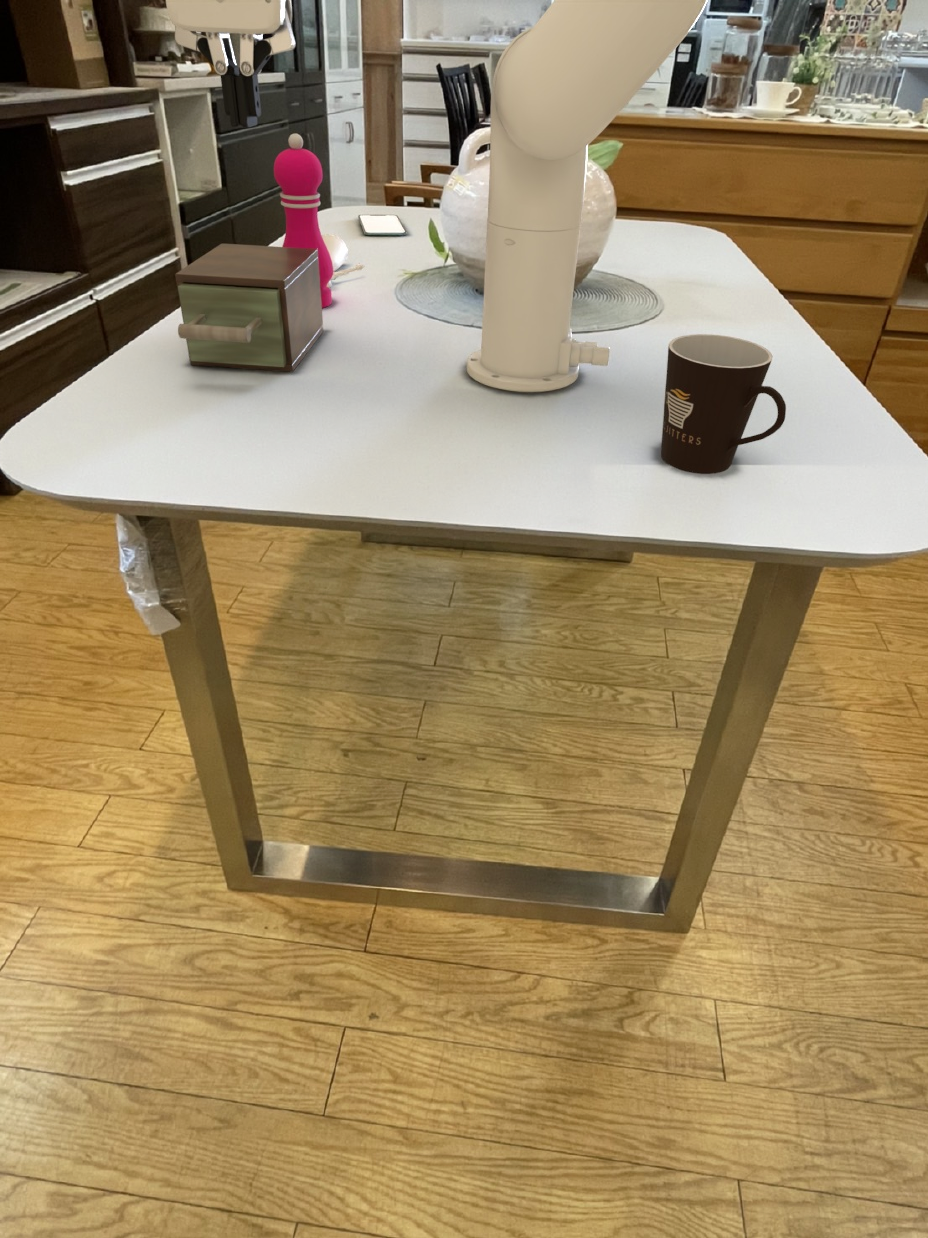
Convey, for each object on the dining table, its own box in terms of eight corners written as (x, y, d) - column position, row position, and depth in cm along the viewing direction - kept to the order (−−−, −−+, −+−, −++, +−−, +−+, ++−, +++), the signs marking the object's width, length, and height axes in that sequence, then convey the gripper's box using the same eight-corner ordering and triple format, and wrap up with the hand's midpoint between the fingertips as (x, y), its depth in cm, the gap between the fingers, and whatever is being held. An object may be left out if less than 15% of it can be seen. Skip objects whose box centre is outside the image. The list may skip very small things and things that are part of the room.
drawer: (268, 386, 82) (259, 308, 78) (170, 379, 83) (155, 301, 78) (313, 329, 98) (308, 261, 93) (230, 324, 98) (221, 256, 94)
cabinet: (292, 371, 88) (284, 280, 83) (190, 365, 89) (174, 273, 83) (323, 331, 100) (317, 248, 94) (232, 325, 101) (221, 243, 95)
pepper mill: (325, 312, 106) (312, 138, 94) (273, 308, 107) (255, 134, 95) (342, 298, 112) (333, 132, 100) (293, 294, 113) (278, 128, 101)
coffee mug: (638, 439, 77) (656, 333, 71) (724, 438, 78) (750, 334, 72) (673, 496, 68) (698, 381, 62) (771, 495, 69) (804, 381, 63)
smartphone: (407, 236, 146) (397, 217, 158) (407, 233, 145) (397, 214, 158) (364, 236, 144) (357, 217, 157) (364, 232, 144) (357, 214, 156)
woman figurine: (365, 230, 127) (361, 267, 113) (366, 260, 129) (363, 299, 116) (291, 229, 126) (278, 265, 112) (294, 258, 129) (281, 298, 115)
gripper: (105, -150, 62) (151, 125, 73) (293, -144, 62) (312, 134, 73) (144, -135, 68) (182, 118, 79) (317, -129, 68) (331, 125, 79)
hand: (244, 125), depth 76 cm, fingers closed
